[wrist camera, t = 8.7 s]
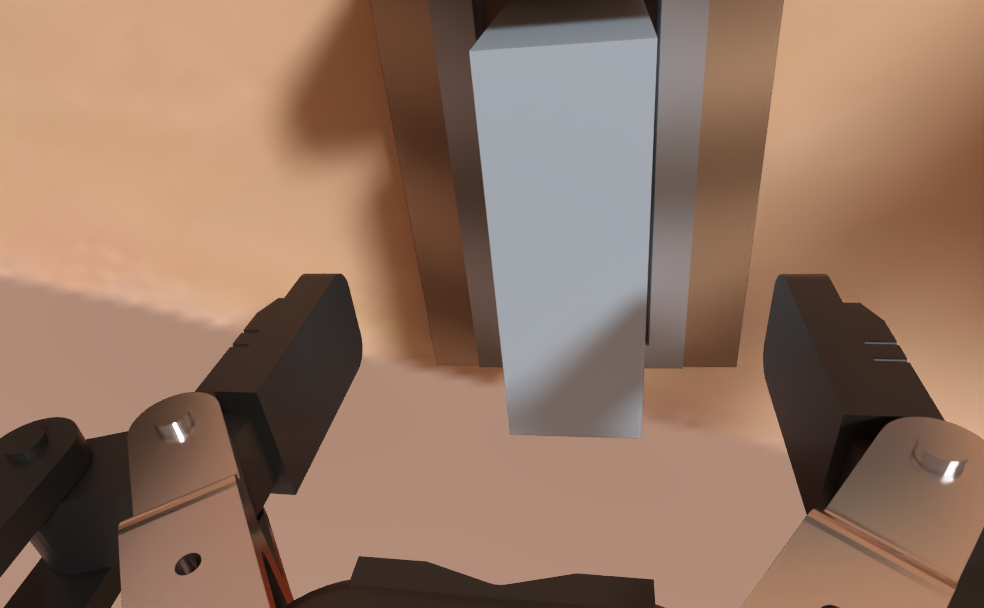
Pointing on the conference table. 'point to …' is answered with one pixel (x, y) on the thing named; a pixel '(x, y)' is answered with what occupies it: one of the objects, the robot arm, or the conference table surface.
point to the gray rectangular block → (569, 207)
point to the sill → (675, 170)
